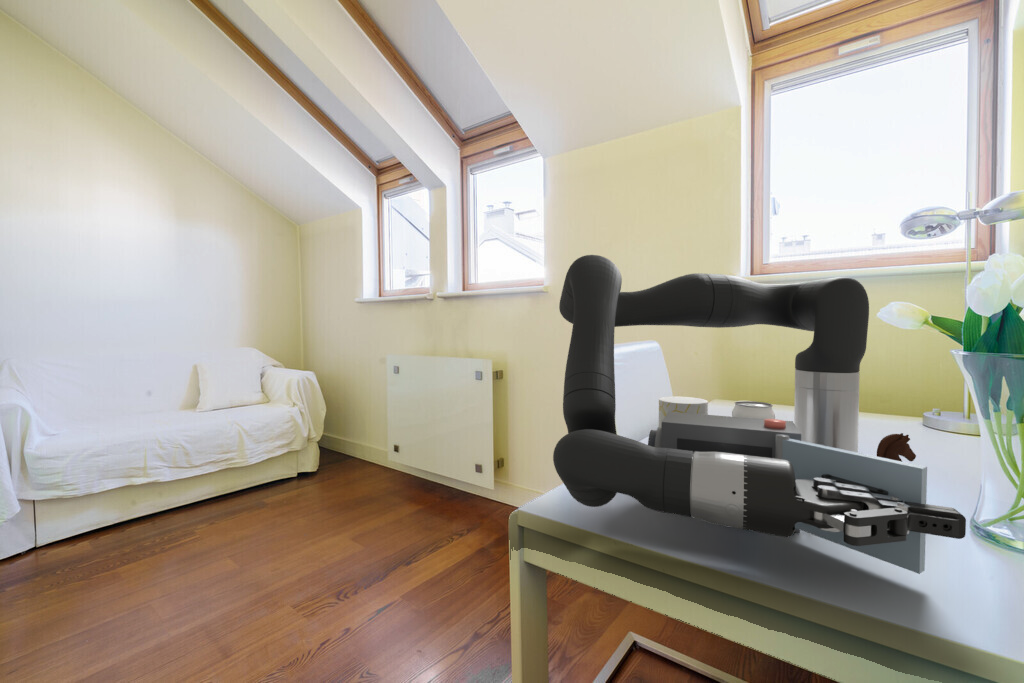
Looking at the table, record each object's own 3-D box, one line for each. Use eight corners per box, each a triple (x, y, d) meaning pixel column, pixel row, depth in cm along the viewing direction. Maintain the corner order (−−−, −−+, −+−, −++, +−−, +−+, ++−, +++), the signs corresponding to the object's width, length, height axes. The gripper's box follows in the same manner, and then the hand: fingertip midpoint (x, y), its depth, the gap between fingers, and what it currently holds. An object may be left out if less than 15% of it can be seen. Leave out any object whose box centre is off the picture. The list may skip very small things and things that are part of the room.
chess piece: (929, 511, 59) (931, 438, 59) (890, 511, 59) (891, 437, 59) (900, 498, 64) (902, 430, 64) (864, 498, 64) (865, 429, 64)
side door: (918, 577, 41) (921, 465, 41) (771, 522, 53) (773, 435, 53) (927, 571, 43) (930, 462, 42) (781, 518, 54) (783, 433, 54)
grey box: (654, 487, 68) (654, 405, 68) (791, 508, 60) (792, 415, 60) (645, 506, 61) (646, 414, 61) (799, 532, 53) (801, 427, 53)
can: (780, 481, 71) (782, 407, 70) (737, 479, 72) (738, 406, 72) (766, 469, 77) (767, 401, 77) (726, 467, 78) (727, 399, 78)
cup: (649, 466, 79) (650, 399, 79) (671, 457, 84) (672, 395, 84) (694, 477, 73) (695, 405, 73) (715, 467, 78) (715, 400, 78)
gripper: (741, 473, 40) (1004, 509, 33) (739, 441, 52) (932, 461, 45) (739, 554, 41) (1001, 608, 33) (738, 503, 52) (930, 534, 45)
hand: (961, 523), depth 39 cm, fingers closed
